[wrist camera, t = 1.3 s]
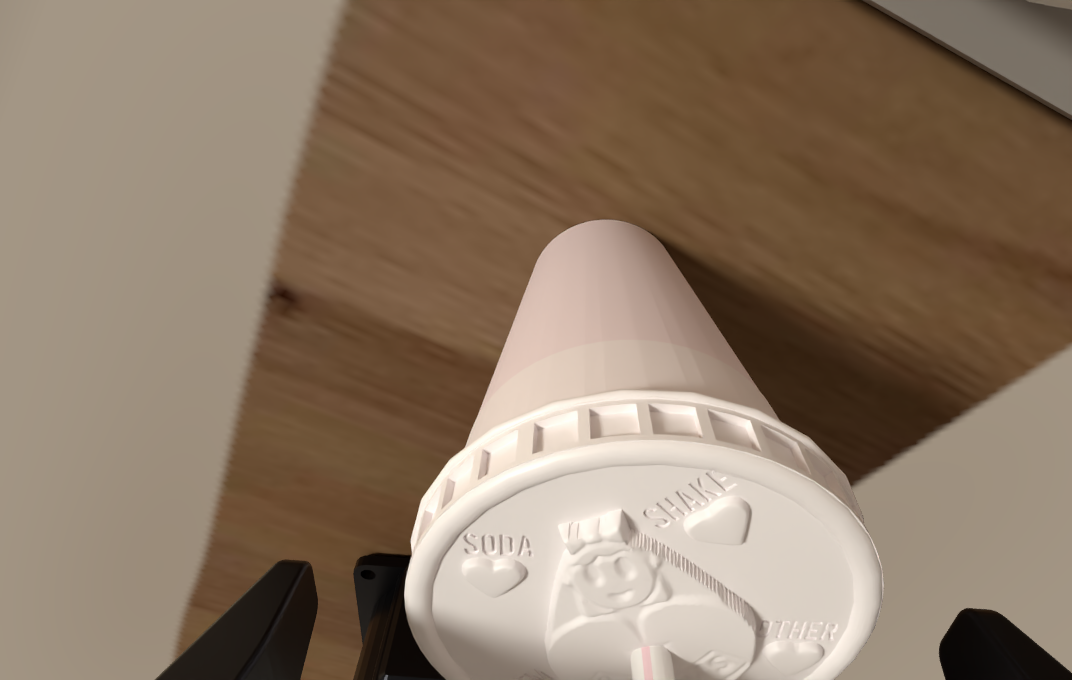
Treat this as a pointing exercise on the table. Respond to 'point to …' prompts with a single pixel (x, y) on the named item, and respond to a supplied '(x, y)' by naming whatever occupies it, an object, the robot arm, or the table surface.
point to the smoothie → (634, 499)
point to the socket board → (1001, 40)
